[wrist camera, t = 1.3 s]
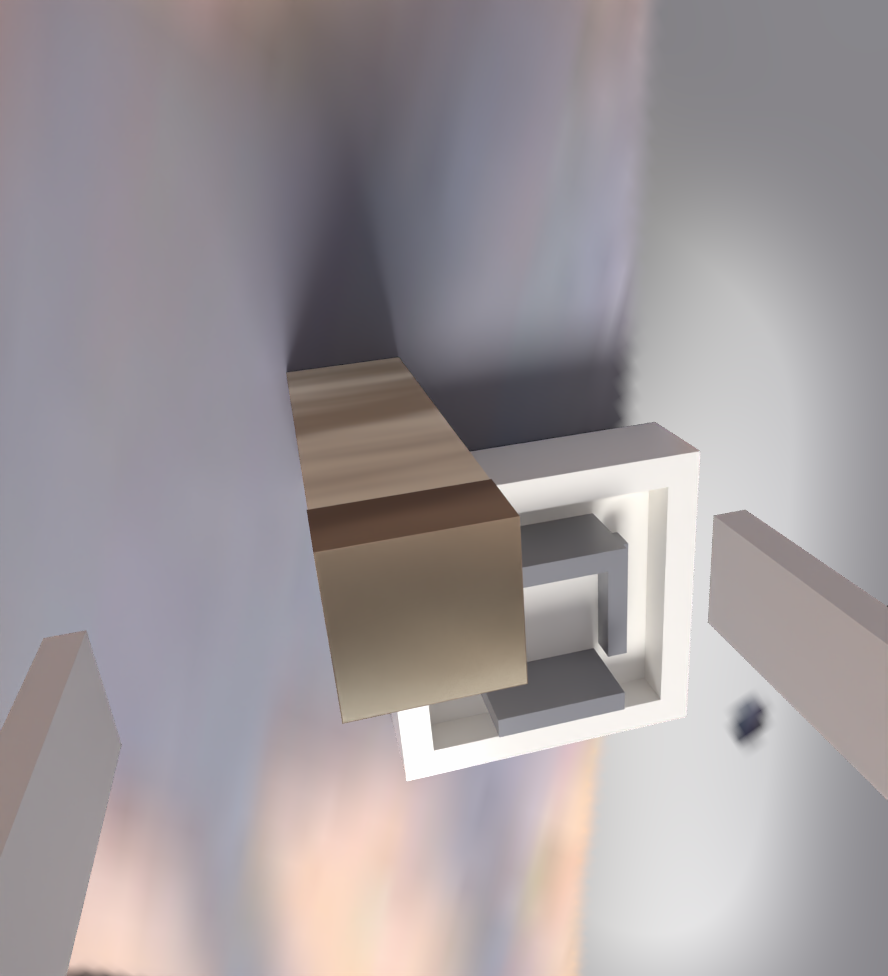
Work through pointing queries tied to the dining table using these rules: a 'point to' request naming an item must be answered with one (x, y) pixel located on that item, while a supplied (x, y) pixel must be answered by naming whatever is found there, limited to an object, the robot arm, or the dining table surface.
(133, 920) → the dining table surface
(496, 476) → the white square frame
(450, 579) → the wood grain beam
